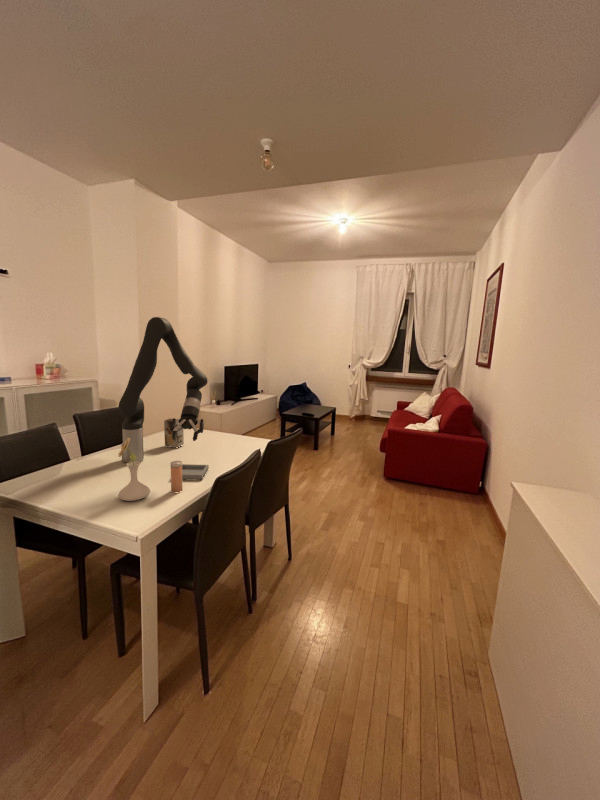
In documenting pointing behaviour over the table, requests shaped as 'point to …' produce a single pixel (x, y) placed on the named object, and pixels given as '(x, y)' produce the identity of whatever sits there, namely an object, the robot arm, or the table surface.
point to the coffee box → (168, 435)
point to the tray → (194, 471)
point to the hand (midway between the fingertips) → (184, 440)
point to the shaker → (176, 476)
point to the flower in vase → (132, 479)
